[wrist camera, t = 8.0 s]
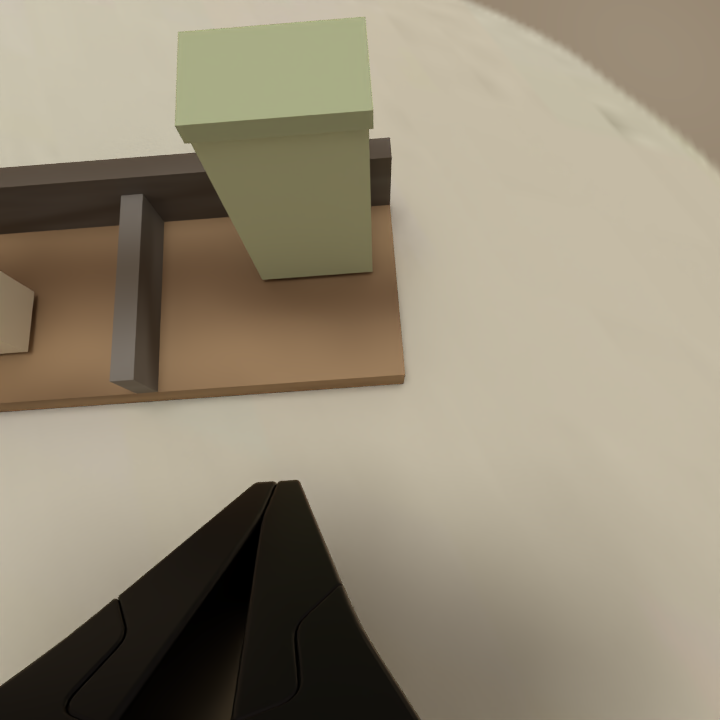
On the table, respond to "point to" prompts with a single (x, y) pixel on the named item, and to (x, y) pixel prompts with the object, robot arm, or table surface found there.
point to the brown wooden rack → (179, 292)
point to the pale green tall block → (285, 139)
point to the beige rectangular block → (14, 315)
